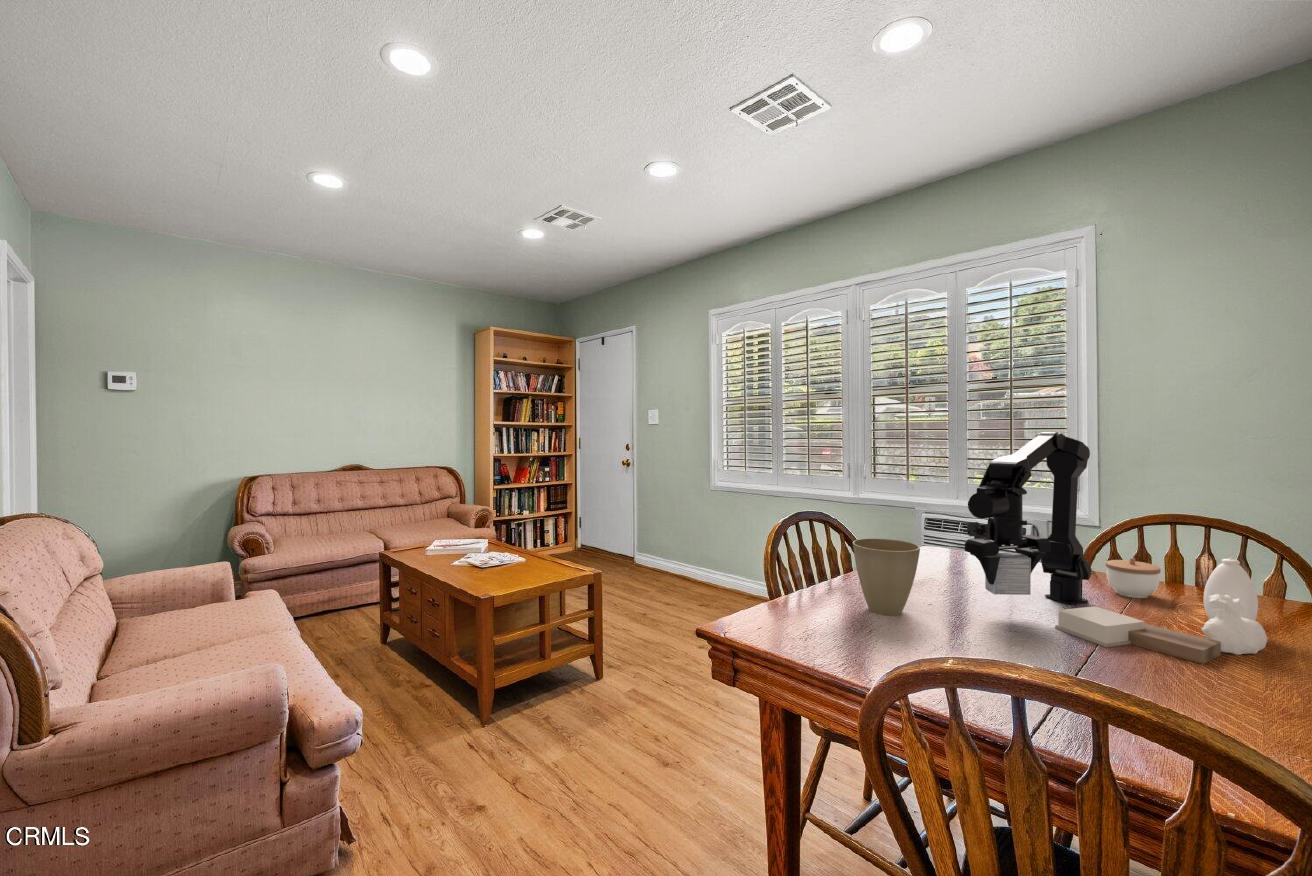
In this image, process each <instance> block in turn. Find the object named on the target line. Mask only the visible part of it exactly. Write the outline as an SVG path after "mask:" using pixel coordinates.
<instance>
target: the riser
mask: <svg viewBox="0 0 1312 876" xmlns="http://www.w3.org/2000/svg"><path fill="white" fill-rule="evenodd" d="M1057 611H1058V617H1057V619H1058V623H1057V624H1055V625H1054V628H1055V629H1057V630H1059V631H1062V632H1065V633H1068V634H1069V635H1073V636H1076V637H1077V638H1080V639H1083V640H1086V641H1089V642H1091V643H1093V644H1096V645H1100V647H1101V646H1102V647H1105V648H1109V647H1110V648H1112V647H1118V646H1125V645H1126V646H1127V645H1132V644H1131V641H1129V640H1128V631H1132V630H1140V629H1144V623H1145V621H1144V620H1141V619H1139V618H1138V619H1137V618H1134V617H1131V616H1127V615H1126V614H1125V615H1124V614H1121V613H1117V612H1115V611H1111V610H1109V609H1105V608H1102V607H1099V606H1095V605H1093V606H1086V607H1085V606H1084V607H1075V608H1069V609H1068V608H1066V609H1058V610H1057Z"/></svg>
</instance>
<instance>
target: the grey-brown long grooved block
mask: <svg viewBox="0 0 1312 876" xmlns="http://www.w3.org/2000/svg"><path fill="white" fill-rule="evenodd" d="M1128 640H1129V641H1131V644H1130V645H1133V646H1137V647H1140V648H1144V649H1148V650H1151V651H1154V652H1159V653H1162V654H1166V655H1170V656H1173V657H1176V658H1180V659H1184V660H1187V661H1191V662H1194V663H1199V664H1202V665H1204V664H1206V663H1208V662H1210V661H1212V660H1213V659H1216V658H1217V657H1219V656H1221V653H1222V652H1221V642H1219V641H1215V640H1211V639H1206V637H1202V636H1198V635H1194V634H1193V635H1192V634H1189V633H1185V632H1182V631H1177V630H1173V629H1169V628H1166V627H1165V628H1164V627H1161V626H1156V625H1152V624H1150V623H1145V622H1144V629H1140V630H1132V631H1128Z"/></svg>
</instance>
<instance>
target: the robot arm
mask: <svg viewBox="0 0 1312 876" xmlns="http://www.w3.org/2000/svg"><path fill="white" fill-rule="evenodd" d="M1090 456H1091V451H1090V448H1089V446H1087V445H1086V444H1085V443H1084V442H1082V441H1080V440H1078V439H1075V438H1072V437H1069V436H1066V435H1065V434H1063V433H1061V432H1058V431H1057V432H1056V431H1055V432H1054V431H1053V432H1052V431H1050V432H1049V431H1048V432H1047V431H1044V432H1043V431H1042V432H1039V433H1036V435H1035V437H1034V438H1032V440H1030V441H1029V442H1026V444H1025V445H1023V446H1022V447H1020V448H1019V449H1018V450H1016V452H1014V453H1013V454H1009V455H1004V456H1000V457H998V458H995V459H993V460H991V461H990V462H989V464H988V466H987V467H986V470H985V472H984V475H983V476H982V478H981V481H980V484H979V486H978V487H976V493H974V494H972V495H971V496H970V497H969V499H968V502H967V508H968V511H969V512H970V515H971V514H972V516H973V517H975V518H977V519H981V520H982V519H987V524H980V523H979V522H978V521H976V522H975V521H973V522H968V523H967V526H966V531H967V535H968V537H973V538H970V539H966V541H964V552H967V553H969V554H970V555H971V556H974V557H975V558H976V559H977V560H978V562H979V564H980V565H981V568H982V569H983V572H984V575H986V578H987V580H988V583H989V584H991V585H993V584H994V582H995V579H996V574H997V570H998V565H999V560H1000V557H998V556H996V555H997V554H998V553H1000V551H1003V550H1015V553H1020V554H1023V555H1025V556H1027V557H1029V558H1031V574H1032V573H1033V571H1034V570H1035V568H1036V567H1037V565H1038V563H1039V562H1040V563H1041V567H1042V572H1043V573H1045V574H1050V581H1049V593H1048V594H1044V597H1046V598H1048V599H1051V600H1055V601H1057V602H1060V603H1063V604H1065V605H1075V604H1082V603H1089V599H1086V598H1083V581H1090V578H1091V577H1092V576H1091V575H1092V567H1091V566H1090V565H1089V563H1088V561H1087V559H1086V558H1085V556H1084V547H1083V545H1082V544H1081V542H1080V541H1079V539H1078V538H1077V537H1076V536H1077V535H1076V533H1077V508H1078V507H1077V506H1078V490H1079V489H1078V488H1079V487H1078V486H1079V483H1078V482H1079V478H1080V476H1081V475H1082V473H1084V472H1085V470H1086V469H1087V468H1088V460H1090ZM1045 459H1046V460H1045ZM1043 460H1045V461H1046V467H1047V469H1049V471H1050V473H1051V474H1052V475H1053V487H1052V488H1053V490H1052V491H1053V492H1052V508H1051V509H1052V510H1051V513H1052V514H1051V528H1050V529H1051V531H1050V532H1051V533H1050V535H1049V536H1048V537H1043V536H1042V537H1041V536H1037V535H1033V534H1027V535H1025V534H1024V535H1023V526H1028V520H1025V519H1023V496H1024V495H1027V494H1028V491H1027V490H1026V489H1025V488H1024V485H1025V484H1026V483H1027V482H1028V481H1029V480H1030V478H1031V477H1032V473H1031V471H1032V469H1033V468H1034V467H1036V466H1037V465H1039V464H1040V463H1041V462H1042V461H1043Z"/></svg>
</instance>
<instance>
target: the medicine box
mask: <svg viewBox="0 0 1312 876" xmlns="http://www.w3.org/2000/svg"><path fill="white" fill-rule="evenodd" d="M996 556H998V557H1000V560H999V565H998V570H997V574H996V579H995V582H994V584H993V585H991V584H989V583H988V580H987V578H986V575H985V574H984V575H985V576H984V577H985V579H984V581H985V582H984V586H985V590H986V591H988V592H989V593H991V594H993V595H1010V596H1011V595H1012V596H1014V595H1015V596H1017V595H1018V596H1019V595H1020V596H1021V595H1022V596H1023V595H1025V596H1027V595H1028V596H1030V595H1031V593H1032V592H1031V589H1032V588H1031V586H1032V585H1031V584H1032V583H1031V581H1032V580H1031V579H1032V577H1031V576H1032V575H1031V574H1032V573H1031V558H1029V557H1027V556H1025V555H1023V554H1020V553H1017V552H999V553H998V554H997V555H996Z"/></svg>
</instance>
